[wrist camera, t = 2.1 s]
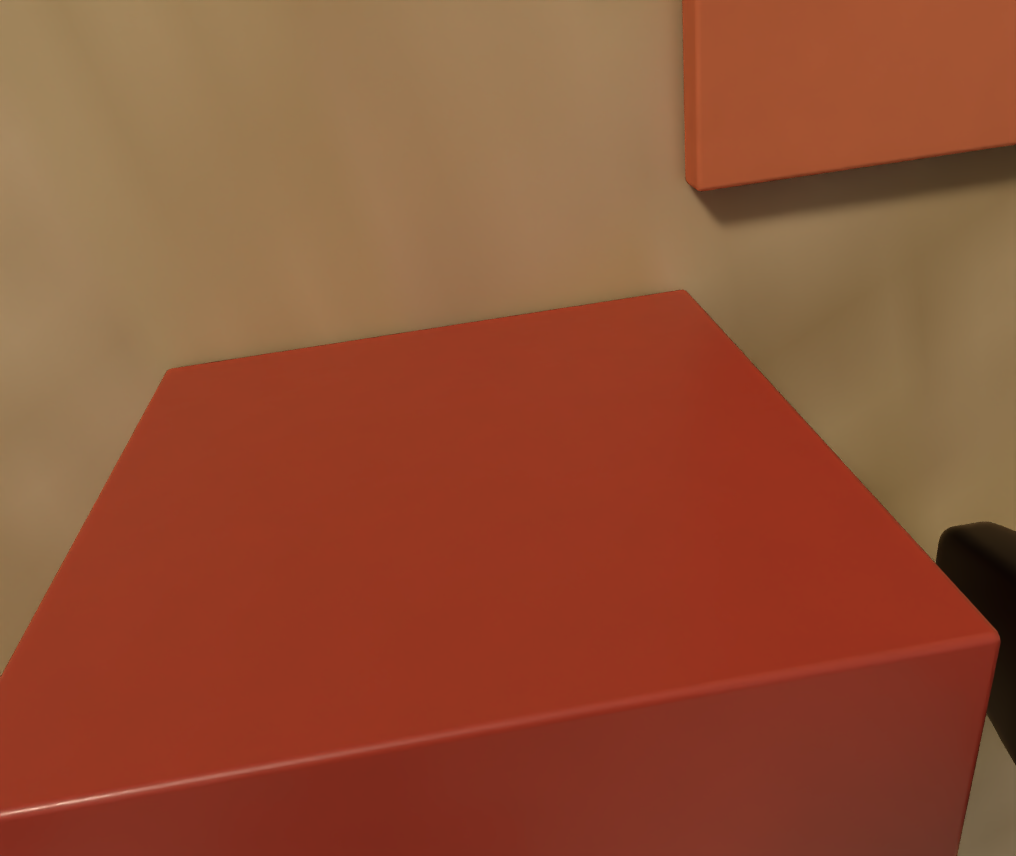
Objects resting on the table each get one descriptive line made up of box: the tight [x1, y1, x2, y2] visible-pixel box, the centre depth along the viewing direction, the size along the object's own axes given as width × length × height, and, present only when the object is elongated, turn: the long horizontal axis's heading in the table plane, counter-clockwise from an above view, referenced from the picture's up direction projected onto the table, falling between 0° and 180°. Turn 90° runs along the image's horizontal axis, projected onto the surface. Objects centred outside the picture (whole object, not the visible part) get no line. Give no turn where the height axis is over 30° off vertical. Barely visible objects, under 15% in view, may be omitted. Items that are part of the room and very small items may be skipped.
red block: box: [0, 290, 1001, 856], centre depth 7 cm, size 5×5×5 cm
